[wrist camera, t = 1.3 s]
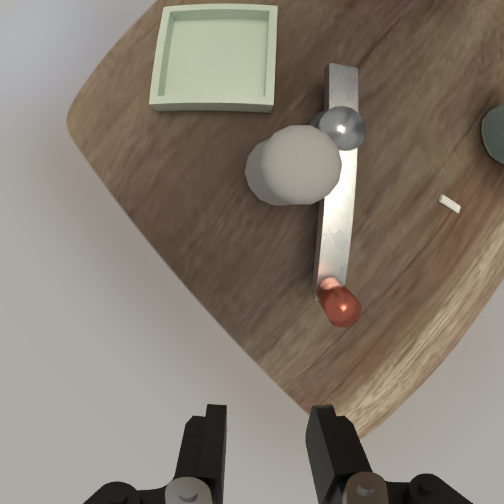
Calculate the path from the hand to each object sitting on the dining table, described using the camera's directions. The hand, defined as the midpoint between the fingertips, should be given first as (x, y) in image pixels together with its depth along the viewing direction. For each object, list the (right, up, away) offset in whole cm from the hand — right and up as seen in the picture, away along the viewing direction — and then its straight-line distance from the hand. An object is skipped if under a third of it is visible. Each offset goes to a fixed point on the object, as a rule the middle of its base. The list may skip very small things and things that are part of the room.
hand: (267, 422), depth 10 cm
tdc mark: (+21, +12, +17) cm, 30 cm away
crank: (+6, +12, +15) cm, 20 cm away
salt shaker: (+2, +14, +17) cm, 22 cm away
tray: (-4, +24, +14) cm, 28 cm away
